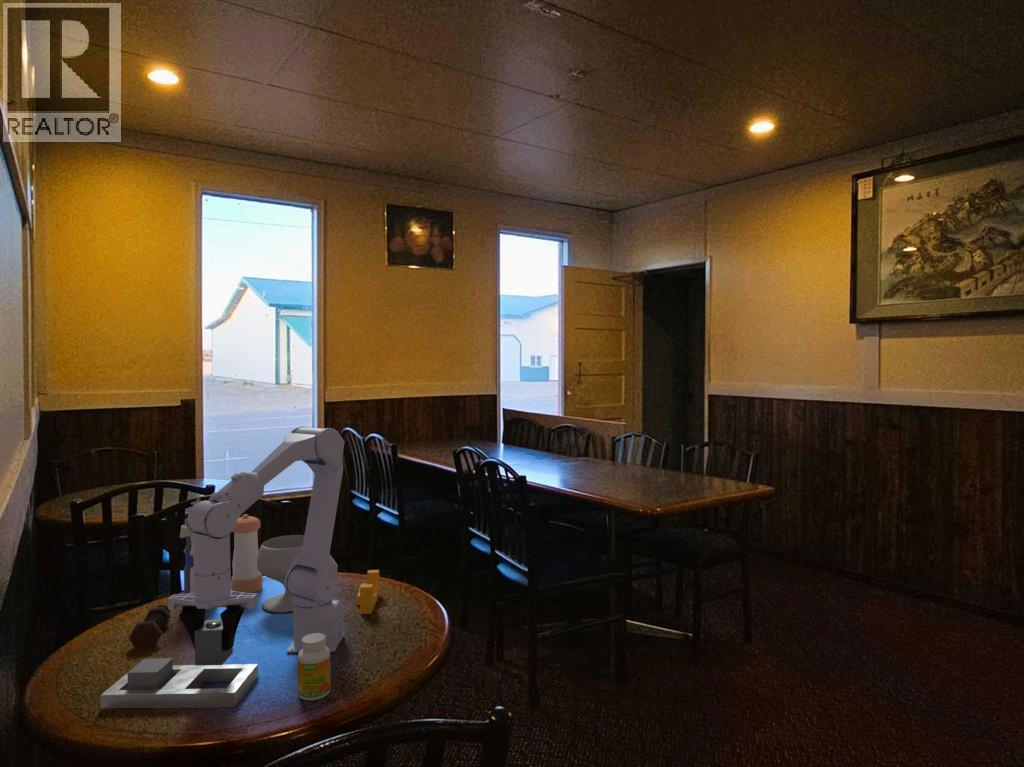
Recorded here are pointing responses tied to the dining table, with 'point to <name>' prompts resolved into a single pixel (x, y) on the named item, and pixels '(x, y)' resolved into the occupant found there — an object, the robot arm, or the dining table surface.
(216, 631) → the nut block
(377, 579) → the pipe clamp
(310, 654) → the supplement bottle
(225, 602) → the robot arm
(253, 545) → the salt shaker
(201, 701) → the tray
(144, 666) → the slate block
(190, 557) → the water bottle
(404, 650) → the dining table surface
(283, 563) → the chalice
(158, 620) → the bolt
